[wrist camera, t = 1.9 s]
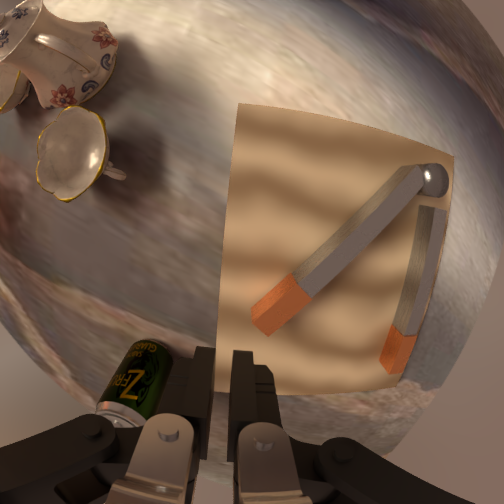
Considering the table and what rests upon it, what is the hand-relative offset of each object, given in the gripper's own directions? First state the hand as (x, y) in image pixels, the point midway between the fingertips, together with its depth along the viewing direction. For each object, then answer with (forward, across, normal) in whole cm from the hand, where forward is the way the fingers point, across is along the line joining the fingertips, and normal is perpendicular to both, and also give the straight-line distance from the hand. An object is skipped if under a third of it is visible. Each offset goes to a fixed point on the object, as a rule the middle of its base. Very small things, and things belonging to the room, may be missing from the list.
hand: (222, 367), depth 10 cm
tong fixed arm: (+16, -19, +2) cm, 25 cm away
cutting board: (+17, -11, +1) cm, 20 cm away
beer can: (+17, +8, +13) cm, 23 cm away
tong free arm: (+15, -11, -3) cm, 19 cm away
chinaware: (+17, +21, -17) cm, 32 cm away
